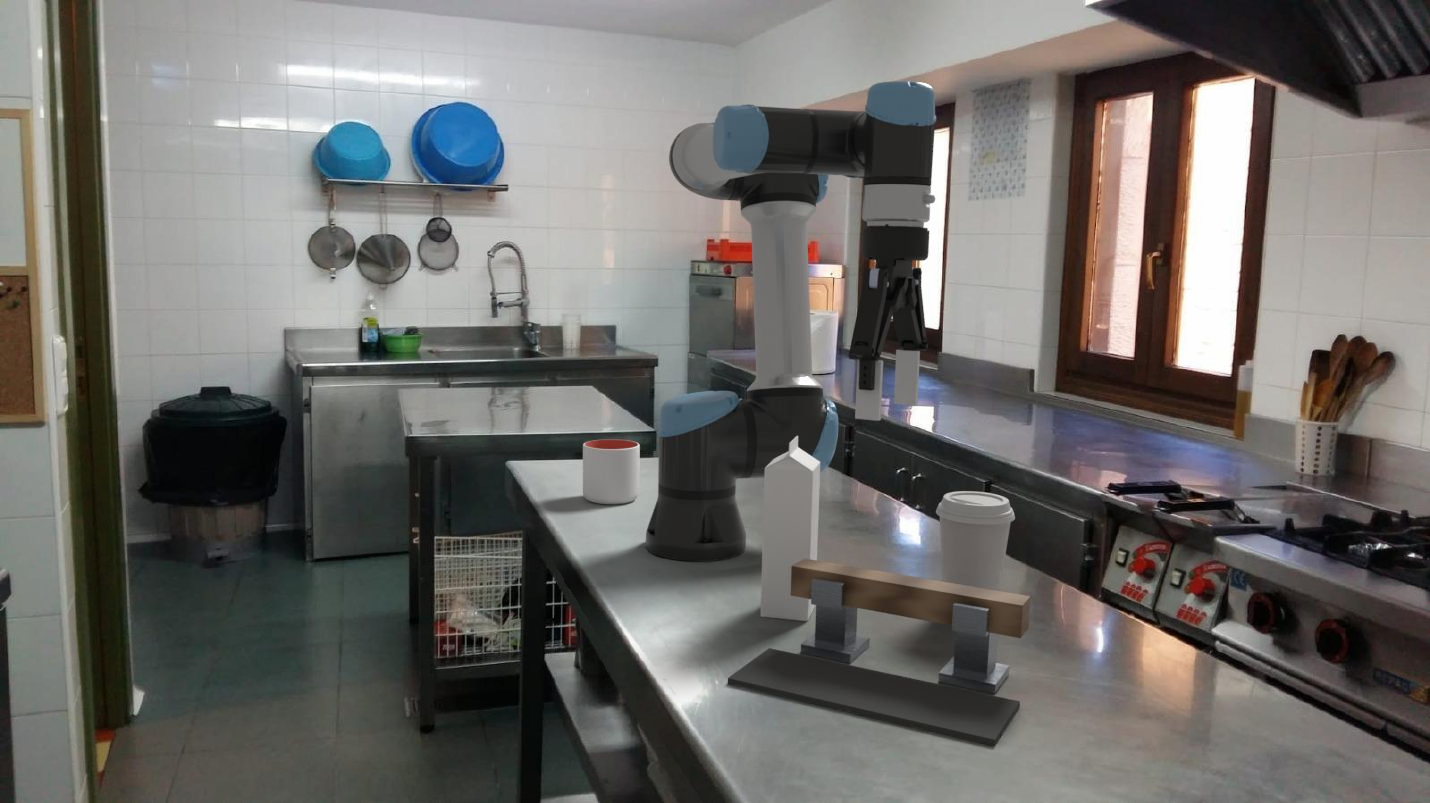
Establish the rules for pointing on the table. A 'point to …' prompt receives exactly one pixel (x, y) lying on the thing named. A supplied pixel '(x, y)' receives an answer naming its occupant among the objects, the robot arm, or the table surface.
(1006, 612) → the rail
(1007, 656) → the table surface
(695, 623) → the table surface
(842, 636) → the post
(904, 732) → the table surface
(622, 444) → the cup
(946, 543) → the coffee cup
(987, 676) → the post
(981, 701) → the mat
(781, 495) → the milk
